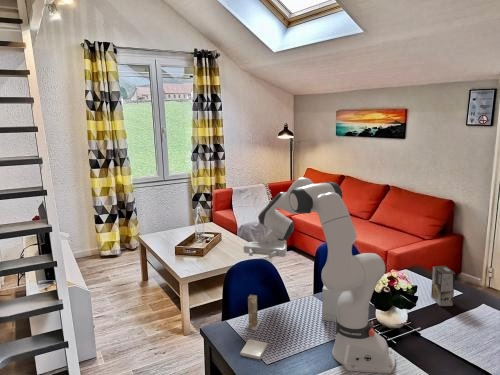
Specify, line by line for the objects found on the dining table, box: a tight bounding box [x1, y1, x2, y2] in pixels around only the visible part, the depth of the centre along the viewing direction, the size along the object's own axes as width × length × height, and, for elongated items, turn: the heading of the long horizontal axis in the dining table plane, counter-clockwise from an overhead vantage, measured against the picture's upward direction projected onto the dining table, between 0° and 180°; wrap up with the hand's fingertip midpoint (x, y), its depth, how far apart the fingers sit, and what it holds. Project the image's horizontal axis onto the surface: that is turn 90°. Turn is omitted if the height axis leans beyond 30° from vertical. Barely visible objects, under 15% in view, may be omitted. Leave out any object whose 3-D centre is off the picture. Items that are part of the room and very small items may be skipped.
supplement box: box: [321, 285, 343, 323], centre depth 167 cm, size 9×9×15 cm
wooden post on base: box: [244, 294, 262, 332], centre depth 163 cm, size 5×7×14 cm
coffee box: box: [430, 265, 456, 307], centre depth 177 cm, size 9×6×16 cm
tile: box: [240, 338, 269, 360], centre depth 147 cm, size 8×2×9 cm
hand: (260, 255), depth 169 cm, fingers open, 8 cm apart
